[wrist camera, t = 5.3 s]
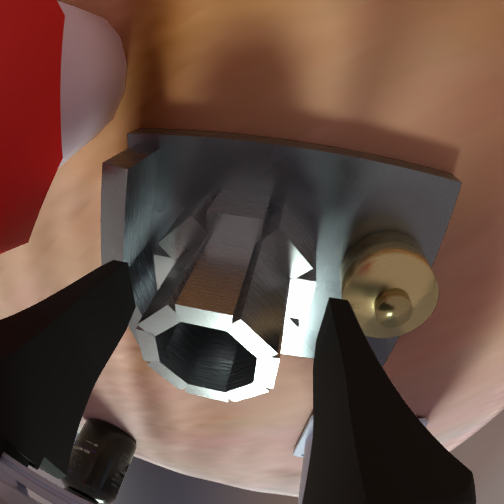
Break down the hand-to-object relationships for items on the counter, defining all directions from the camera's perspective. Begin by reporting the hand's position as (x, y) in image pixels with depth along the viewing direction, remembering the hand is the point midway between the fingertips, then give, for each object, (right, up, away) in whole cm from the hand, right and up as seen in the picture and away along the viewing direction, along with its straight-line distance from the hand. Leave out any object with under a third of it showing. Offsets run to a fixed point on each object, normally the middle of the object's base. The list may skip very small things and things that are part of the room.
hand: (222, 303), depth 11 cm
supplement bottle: (-16, -20, +21) cm, 33 cm away
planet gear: (+1, +1, +3) cm, 3 cm away
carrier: (+2, +2, +4) cm, 5 cm away
